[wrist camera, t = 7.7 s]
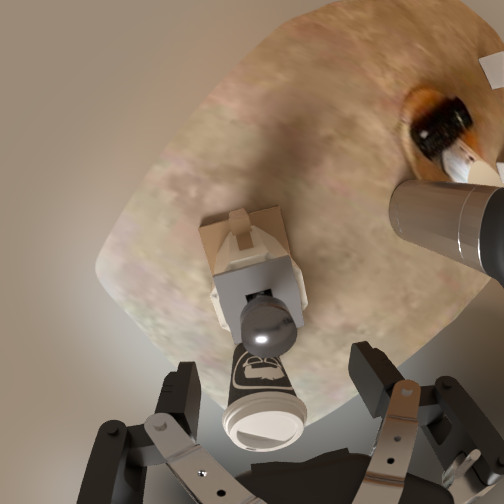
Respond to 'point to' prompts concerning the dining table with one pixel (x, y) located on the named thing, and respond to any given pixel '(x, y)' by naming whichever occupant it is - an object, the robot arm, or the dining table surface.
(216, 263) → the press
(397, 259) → the dining table surface
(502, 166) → the spoon rest
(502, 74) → the milk carton
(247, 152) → the dining table surface
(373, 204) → the dining table surface
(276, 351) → the plunger
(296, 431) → the coffee cup
